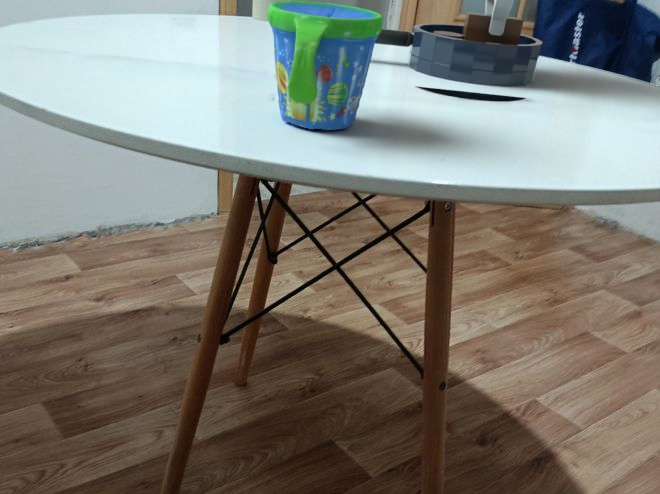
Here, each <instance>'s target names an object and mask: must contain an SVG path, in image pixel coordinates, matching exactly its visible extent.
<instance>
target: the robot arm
mask: <svg viewBox="0 0 660 494" xmlns="http://www.w3.org/2000/svg"><path fill="white" fill-rule="evenodd" d="M514 1H515V0H485V4H484V5H485V6H484V7H485V8H484V14H488V15H492V17H491V18H490V21H489V26H488V32H489V33H490V34H491V35H498V36H500V35H502V34H503V32H504V28H505V24H506V20H507V18H508V17H510V13H511V11H512V9H513V6H514Z"/></svg>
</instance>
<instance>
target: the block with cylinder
mask: <svg viewBox="0 0 660 494" xmlns="http://www.w3.org/2000/svg"><path fill="white" fill-rule="evenodd" d="M491 17H492V15H488V14H485V13H479V12H469V11H467V12H466V15H465V19H464V24H463V25H464V29H463V34H458V33H453V32H446V31H434V32H433V33H434V34H437V35H442V36H447V37H452V38H457V39H464V40H471V41H477V42H487V43H496V44H513V45H518V42H519V38H520V34H522V31H523V25H524V22H525V21H524V19H522V18H520V17H514V16H508V18H507V20H506V24H505V28H504V32H503V34H502V35H500V36H498V35H491V34H490V33H489V32H488V26H489V21H490V18H491Z"/></svg>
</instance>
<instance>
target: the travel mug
mask: <svg viewBox="0 0 660 494" xmlns="http://www.w3.org/2000/svg"><path fill="white" fill-rule="evenodd" d="M281 1H300V0H252V11H251V12H252V15H251V17H252V19H254V20H258V21H262V22H268V23H269V21H268V17H267V14H268V10H269V5H270V4H271V3H274V2H281Z"/></svg>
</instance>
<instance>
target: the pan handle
mask: <svg viewBox="0 0 660 494" xmlns="http://www.w3.org/2000/svg"><path fill="white" fill-rule="evenodd" d="M412 33H413V32H412V31H411V32H410V31H406V30H395V29H388V28H382V29H381V33H380V34H379V36H378V38H377V39H376V42H375V44H376V45H385V46H394V47H404V48H410V46H411V45H412V41H413V34H412ZM375 44H374V45H375Z"/></svg>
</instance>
